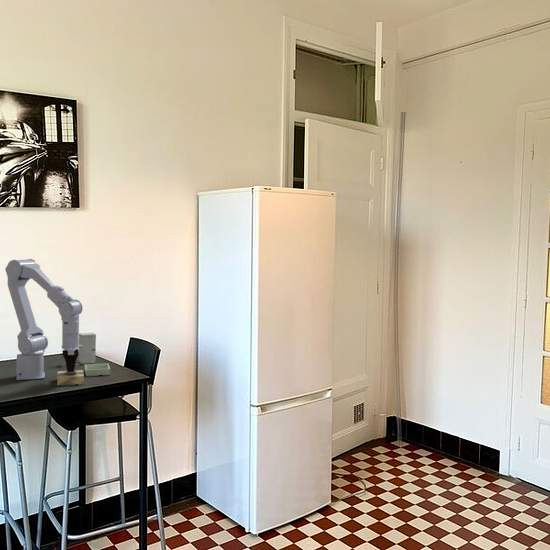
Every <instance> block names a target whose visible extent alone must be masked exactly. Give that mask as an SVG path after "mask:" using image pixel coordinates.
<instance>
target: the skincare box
mask: <svg viewBox="0 0 550 550" xmlns="http://www.w3.org/2000/svg"><path fill="white" fill-rule="evenodd" d="M96 341H97V334H96V333H94V332H85V333H84V332H83V333H82V332H79V345H82V348H78V349H79V351H78V353H79V355H78V363H79V364H80V365H83V364H84V365H86V364H96V348H97V346H96V343H97V342H96Z"/></svg>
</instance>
